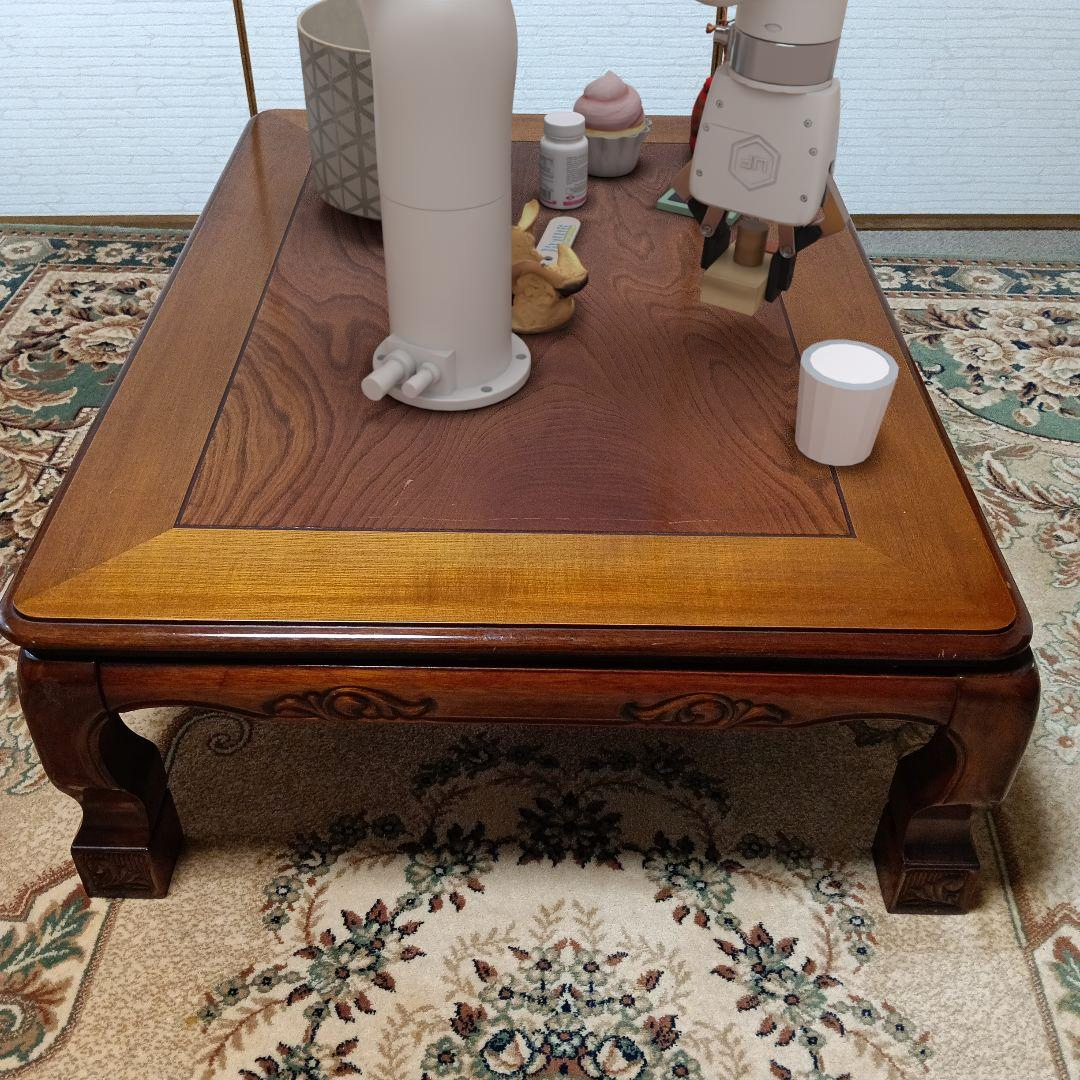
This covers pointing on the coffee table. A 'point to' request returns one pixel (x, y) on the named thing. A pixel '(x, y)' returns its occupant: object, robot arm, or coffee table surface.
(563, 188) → the pill bottle
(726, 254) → the stamp
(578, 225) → the keychain
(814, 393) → the white cylinder
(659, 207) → the ink pad
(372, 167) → the planter
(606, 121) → the cupcake
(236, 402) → the coffee table surface
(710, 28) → the red clay folk toy
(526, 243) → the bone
